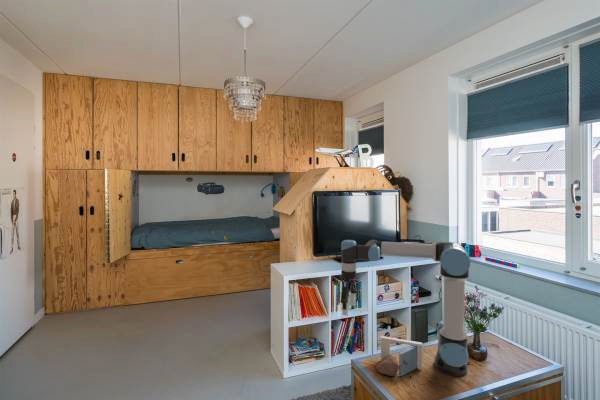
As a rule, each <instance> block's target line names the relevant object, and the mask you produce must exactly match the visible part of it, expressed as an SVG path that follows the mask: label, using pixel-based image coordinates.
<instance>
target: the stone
mask: <svg viewBox="0 0 600 400" xmlns="http://www.w3.org/2000/svg"><path fill="white" fill-rule="evenodd" d="M375 369H376V370H377V371H378V372H379V373H380V374H382V375H387V376H392V377H395V376H396V375H397V373H399V361H397V359H396V357H395V356H393V355H391V354H390V355H386V356H385V357H384V358H382V360H381V359H380V362H379V363H378V364H377V365H376V367H375Z"/></svg>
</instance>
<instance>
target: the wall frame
mask: <svg viewBox="0 0 600 400" xmlns="http://www.w3.org/2000/svg"><path fill="white" fill-rule="evenodd" d="M391 343H397V344H402V345H409V346H418V366H417V371H418V370H419V371H422V369H423V342H419V341H414V340H408V339H404V338H403V339H401V338H395V337H391V336H384V335H381V336H380V361H381V360H382V358H384V357H385V356H386V355H391Z"/></svg>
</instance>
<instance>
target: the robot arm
mask: <svg viewBox="0 0 600 400" xmlns="http://www.w3.org/2000/svg"><path fill="white" fill-rule="evenodd" d="M340 247H341V249H340V251H341V252H340V255H341V262H340V265H341V274H340V275H341V278H342V279H343V280H344V281H343V282H342V289H341V297H340V303H341V308H342V311H341V313H342V316H346V317H347V316H349V306H353V307H355V306H356V294H357V293H358V292H357V286H356V281H355V279H356V277H357V261H358V260H359V261H366V262H367V261H369V262H378V261H380V258H381V257H382V256H383V257H396V258H397V257H399V258H411V259H428V260H432V261H434V262H439V263H440V264H439V265H440V266H439V267H440V268H439V269H440V273H439V274H440V276H441V277H442V278H443V303H442V304H443V305H442V309H443V310H442V313H443V315H442V318H443V319H442V320H440V321H439V322H438V323H437V324H438V326H437V327H438V328H437V329H438V330H437V332H438V333H437V346H438V347H437V352H436V354H435V356H434V358H433V359H434V361H433V362H434V367H435V368H436V369H437V370H439V372H441V373H442V374H446V375H449V376H452V377H453V376H454V377H461V376H465V375H466V374H468V364H467V362H468V360H469V352H468V334H467V333H466V332H465V326H464V325H465V285H466V283H465V281H466V280H467V279H468V278H469V274H470V273H469V272H470V267H471V258H470V255H469V253H468V252H467V251H466V249H465V247H464V246H462V245H461V244H460V243H457V242H452V241H450V242H445V241H443V242H442V241H441V242H440V241H438V242H437V241H435V242H433V243H421V242H420V243H419V242H417V243H416V242H400V241H399V242H397V241H380V240H376V239H370V240H368V241H367V242H366V243H365V245H364V244H357V242H356V241H355V240H353V239H344V240H342V241H341V246H340ZM348 300H349V303H348Z"/></svg>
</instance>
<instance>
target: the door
mask: <svg viewBox="0 0 600 400" xmlns="http://www.w3.org/2000/svg"><path fill="white" fill-rule="evenodd" d="M398 365H399V369H398V376H400V377H403V376H405V375H406V374H409V373H410V372H412V371H414V370H416V369H418V346H414V345H412V346H411V347H409V348H407V349H405V350H403V351H401V352H400V351H399V353H398Z"/></svg>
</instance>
